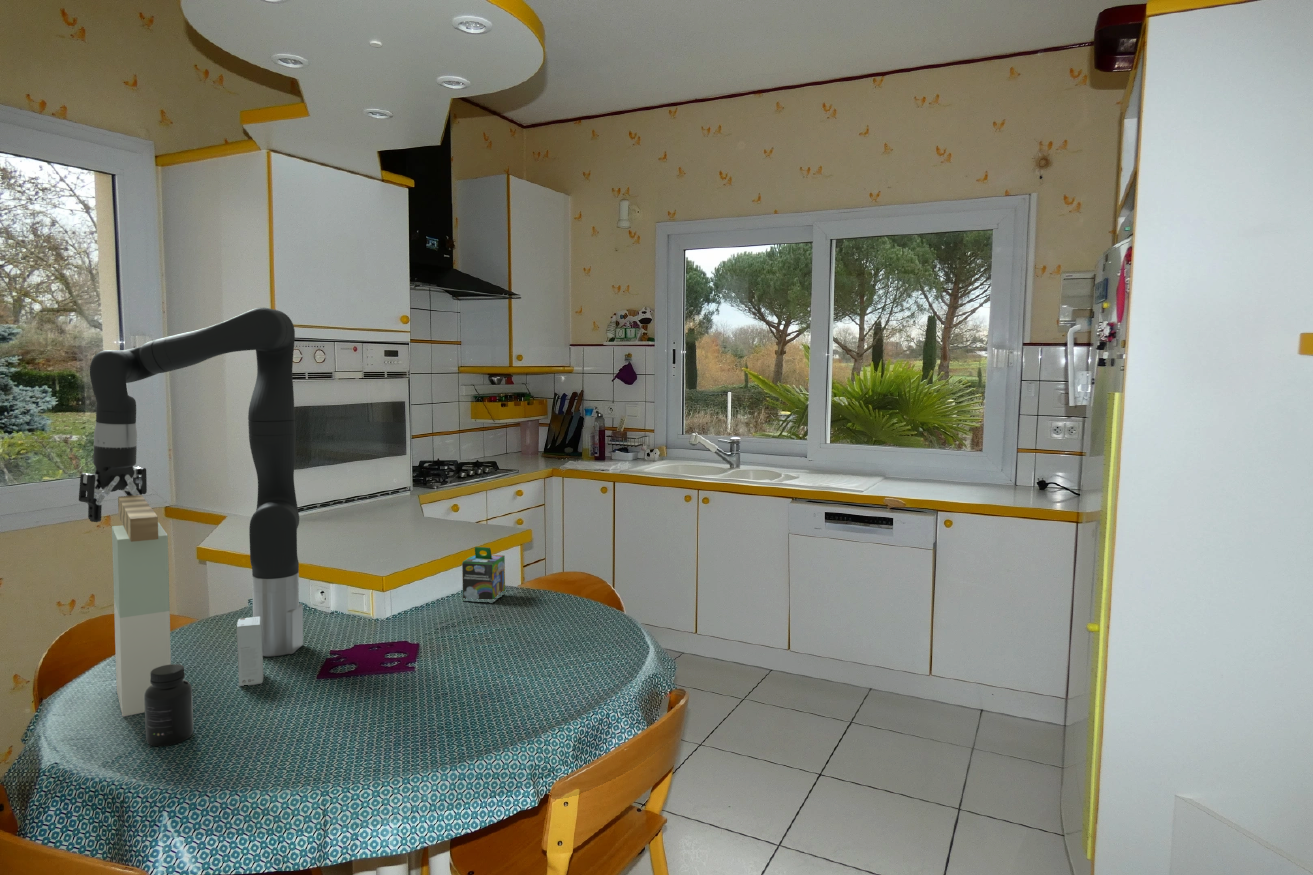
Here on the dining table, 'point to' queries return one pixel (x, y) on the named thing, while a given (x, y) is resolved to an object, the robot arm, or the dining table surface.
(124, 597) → the tower
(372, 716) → the dining table surface
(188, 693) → the supplement bottle
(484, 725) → the dining table surface
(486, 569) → the chalk box
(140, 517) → the beam
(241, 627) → the skincare box
